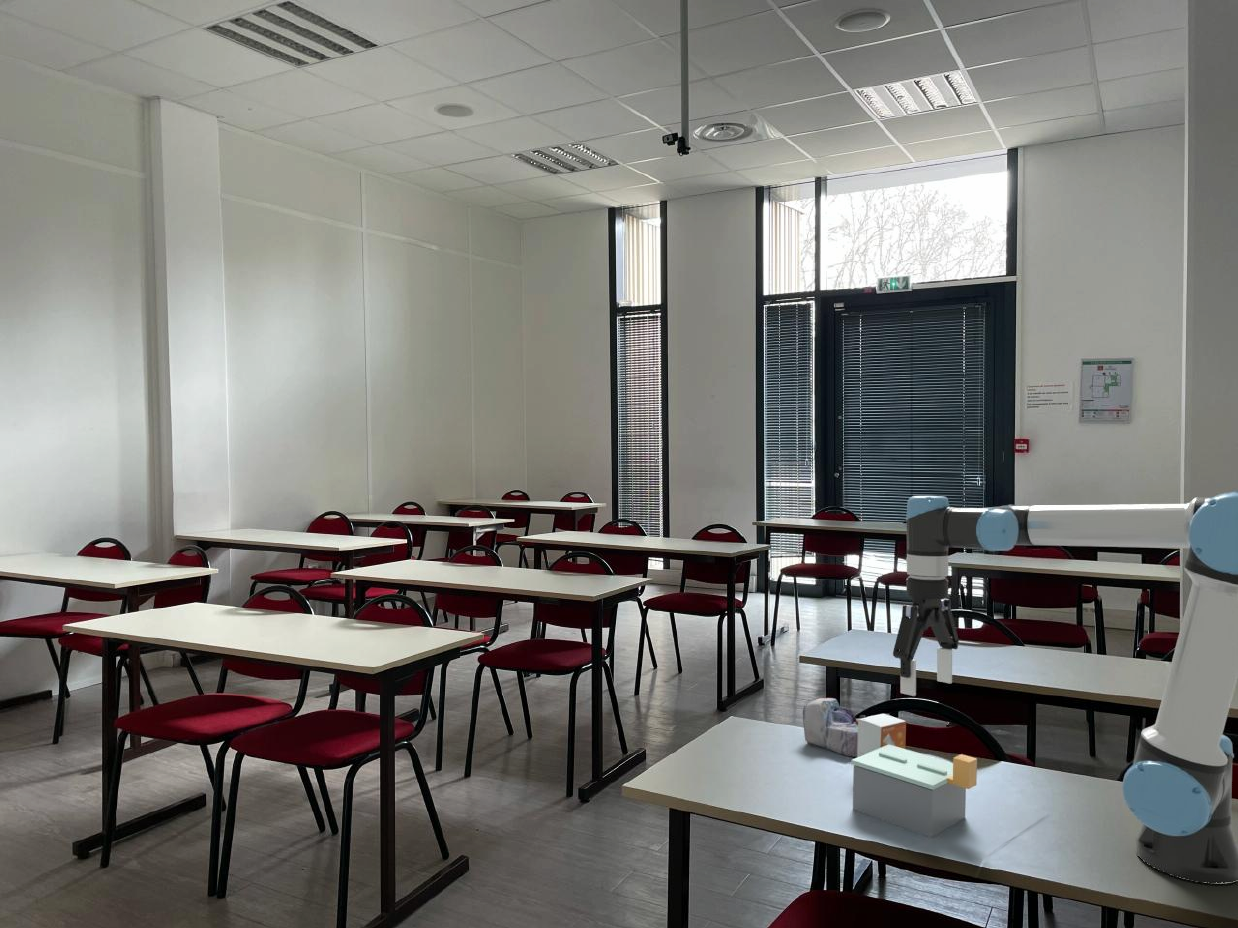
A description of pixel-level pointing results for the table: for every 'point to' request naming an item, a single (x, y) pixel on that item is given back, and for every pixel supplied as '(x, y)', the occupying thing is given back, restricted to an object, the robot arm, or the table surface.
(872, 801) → the tub
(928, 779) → the lid
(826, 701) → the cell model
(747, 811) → the table surface
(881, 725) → the small box
